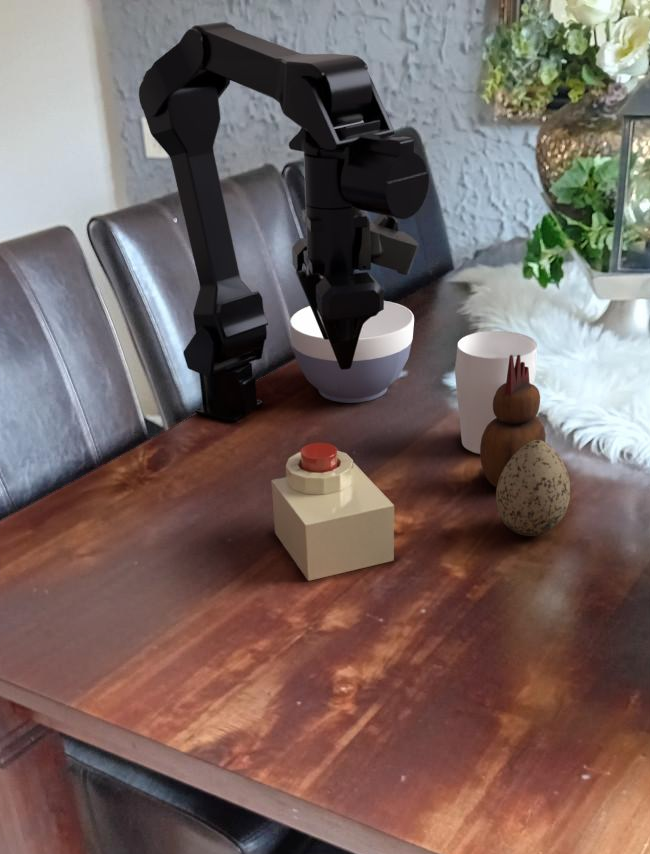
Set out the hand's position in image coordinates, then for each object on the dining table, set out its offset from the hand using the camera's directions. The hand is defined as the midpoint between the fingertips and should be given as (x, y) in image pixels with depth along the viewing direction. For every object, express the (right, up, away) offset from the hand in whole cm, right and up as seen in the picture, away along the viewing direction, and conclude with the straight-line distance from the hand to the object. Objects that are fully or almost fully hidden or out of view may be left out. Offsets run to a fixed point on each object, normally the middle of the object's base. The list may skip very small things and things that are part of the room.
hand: (336, 353), depth 110 cm
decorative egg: (+19, -21, -8) cm, 29 cm away
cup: (+19, -8, +9) cm, 22 cm away
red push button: (-2, -14, -11) cm, 18 cm away
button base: (-1, -22, -8) cm, 24 cm away
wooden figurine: (+19, -14, +1) cm, 24 cm away
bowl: (+3, +2, +24) cm, 24 cm away
